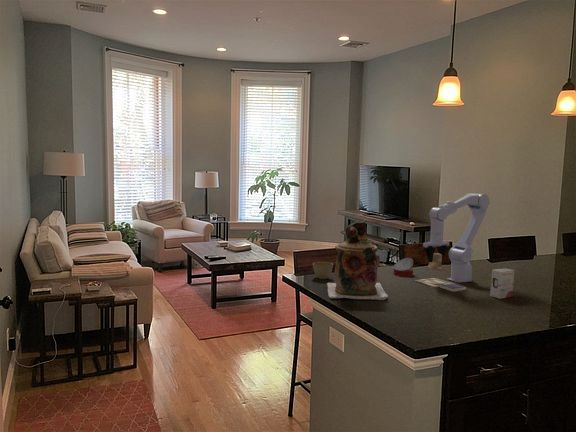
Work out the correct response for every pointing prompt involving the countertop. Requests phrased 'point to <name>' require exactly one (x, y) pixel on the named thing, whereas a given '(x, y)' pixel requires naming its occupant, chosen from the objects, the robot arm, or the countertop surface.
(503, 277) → the ink box
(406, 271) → the canned food
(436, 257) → the stamp
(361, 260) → the cookie jar
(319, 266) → the flower pot
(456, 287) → the ink pad
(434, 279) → the marked board
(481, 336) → the countertop surface
